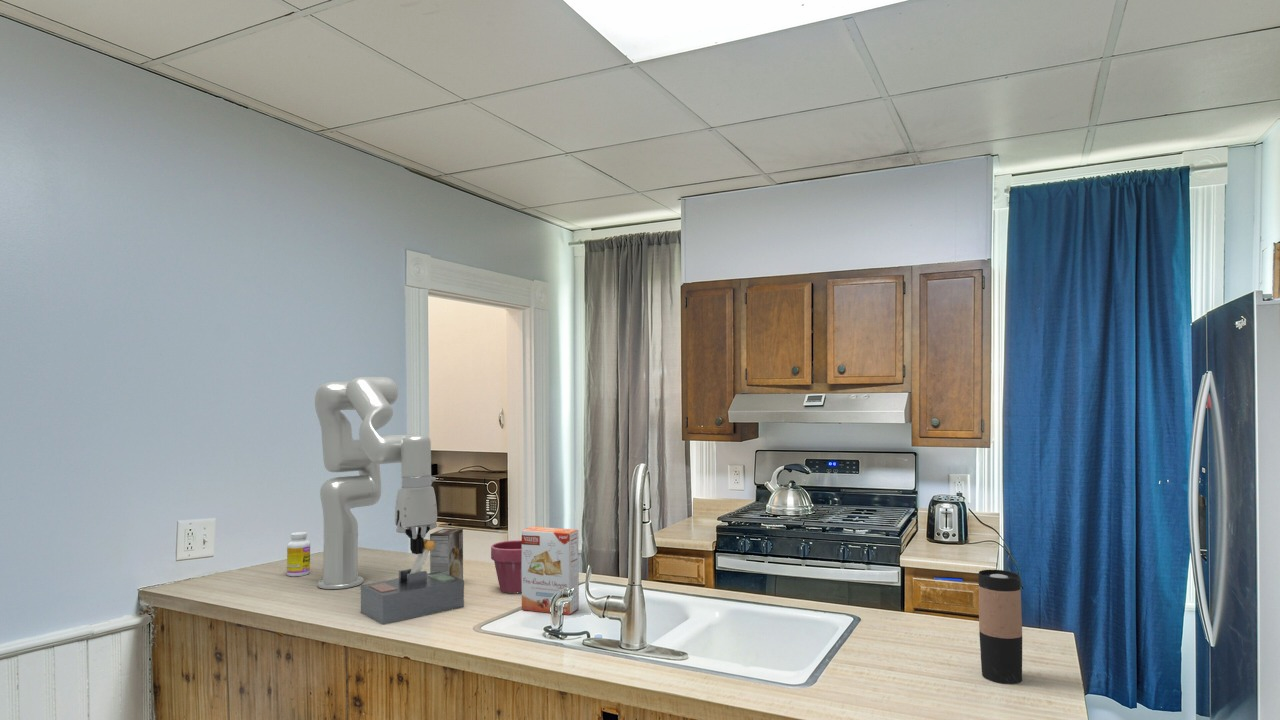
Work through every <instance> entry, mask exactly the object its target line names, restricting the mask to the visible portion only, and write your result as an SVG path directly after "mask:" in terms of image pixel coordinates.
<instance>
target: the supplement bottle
mask: <svg viewBox="0 0 1280 720" xmlns="http://www.w3.org/2000/svg"><path fill="white" fill-rule="evenodd" d="M307 537H308V532H306V531H296V532H292V533H290V538H291V540H290V541H289V542H288V543H287V547H286V551H287V553H286V575H287V576H289V577H302V576H303V577H304V576H307V575H308V574H310V572H311V542H310V540H308V539H307Z"/></svg>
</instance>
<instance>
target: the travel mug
mask: <svg viewBox="0 0 1280 720" xmlns="http://www.w3.org/2000/svg"><path fill="white" fill-rule="evenodd" d="M977 575H978V576H977V577H978V578H977V579H978V583H977V584H978V623H979V624H978V630H979V633H978V634H979V645H980V648H979V650H980V663H981V664H980V665H981V667H980V668H981V675H982V678H984V679H986V680H988V681H989V682H994V683H997V684H1004V685H1015V684H1020V683H1021V682H1022V680H1023V618H1022V615H1023V614H1022V592H1021V589H1022V588H1021V576H1020V574H1019V573H1016V572H1014V571H1008V570H1004V569H982V570H979V571H978V573H977Z"/></svg>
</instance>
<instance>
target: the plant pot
mask: <svg viewBox="0 0 1280 720" xmlns="http://www.w3.org/2000/svg"><path fill="white" fill-rule="evenodd" d="M490 559H491V561H494V567H495V568H494V569H495V572H496V577H497V581H498V585H499V590H500V591H501V592H502V593H506V592H508V593H507V594H518V593H517V592H522V539H521V540H518V539H516V540H504V541H500V542H496V543H493V544H492V545H491V546H490Z"/></svg>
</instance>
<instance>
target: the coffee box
mask: <svg viewBox="0 0 1280 720" xmlns="http://www.w3.org/2000/svg"><path fill="white" fill-rule="evenodd" d="M429 540H431V541H433V542H434V543H435V547H434V549H433V550H432V551H429V562H430V563H429V565H430V566H429V571H430V572H429V573H432V572H438V571H440V572H443V573H445V574H448V575H451V576H453V577H456V578H459V579H462V580H464V529H463V528H441V529H439V530H437V531H435V532H432V533H429Z"/></svg>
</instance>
